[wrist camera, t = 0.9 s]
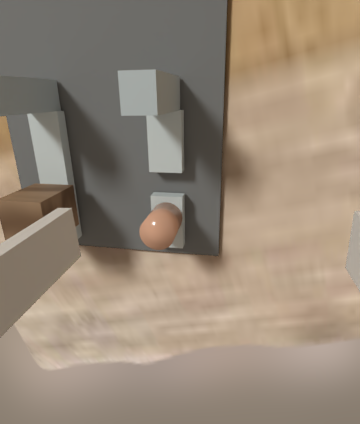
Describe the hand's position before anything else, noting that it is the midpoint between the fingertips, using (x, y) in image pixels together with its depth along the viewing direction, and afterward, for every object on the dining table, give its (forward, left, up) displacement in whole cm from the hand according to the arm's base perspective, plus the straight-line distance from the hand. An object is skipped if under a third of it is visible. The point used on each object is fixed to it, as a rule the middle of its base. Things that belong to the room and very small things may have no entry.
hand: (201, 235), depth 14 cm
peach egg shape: (+8, -7, -22) cm, 24 cm away
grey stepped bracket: (+2, -22, -24) cm, 32 cm away
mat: (-2, -14, -24) cm, 28 cm away
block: (+7, -22, -22) cm, 31 cm away
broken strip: (+2, -7, -24) cm, 25 cm away
